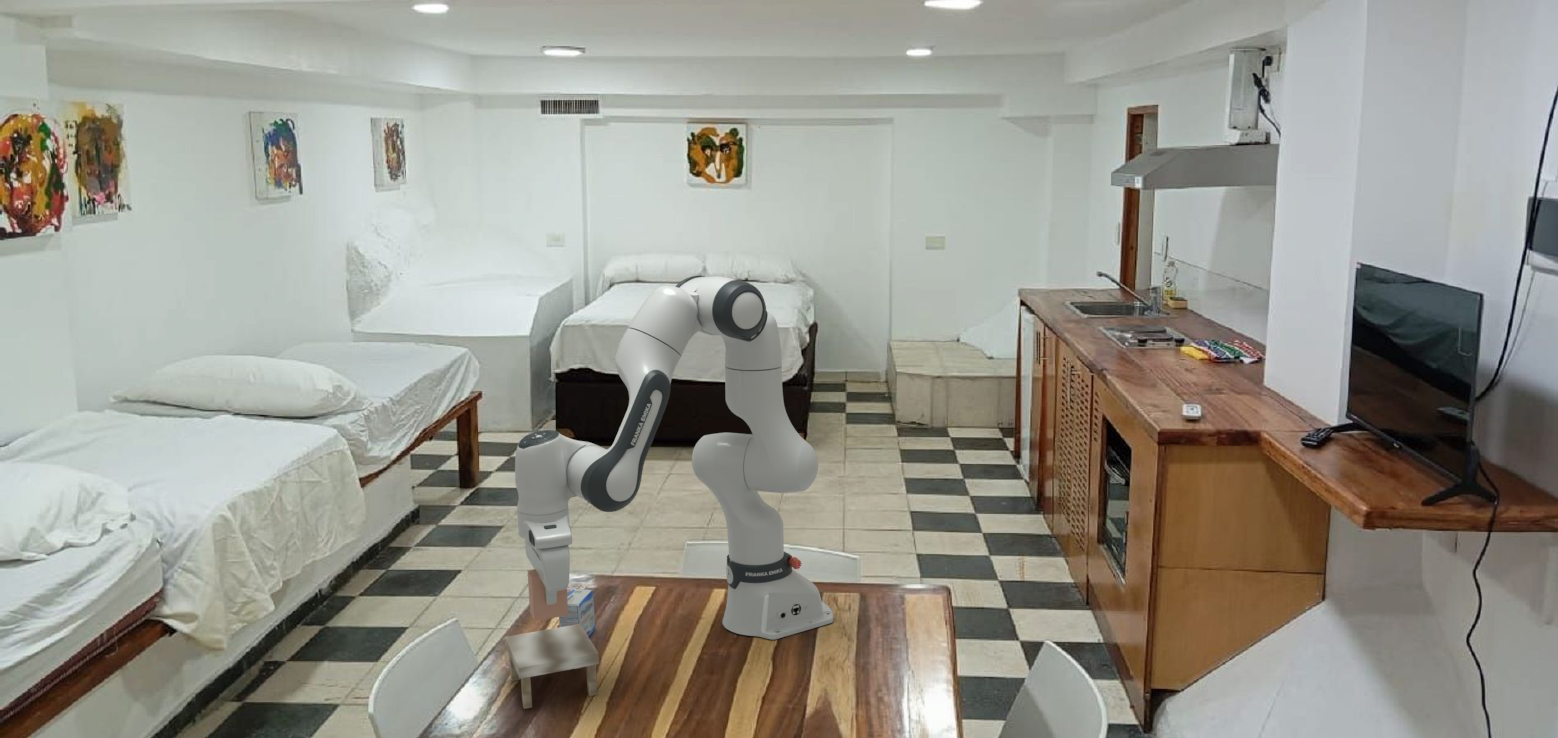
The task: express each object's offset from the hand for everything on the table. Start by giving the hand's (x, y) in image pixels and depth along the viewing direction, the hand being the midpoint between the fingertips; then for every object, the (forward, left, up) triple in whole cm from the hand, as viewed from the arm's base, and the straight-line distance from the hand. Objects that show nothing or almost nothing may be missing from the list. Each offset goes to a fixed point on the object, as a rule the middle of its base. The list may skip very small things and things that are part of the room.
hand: (547, 597), depth 216 cm
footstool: (0, 0, -17) cm, 17 cm away
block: (0, 0, -3) cm, 3 cm away
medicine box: (-9, -19, -17) cm, 27 cm away
